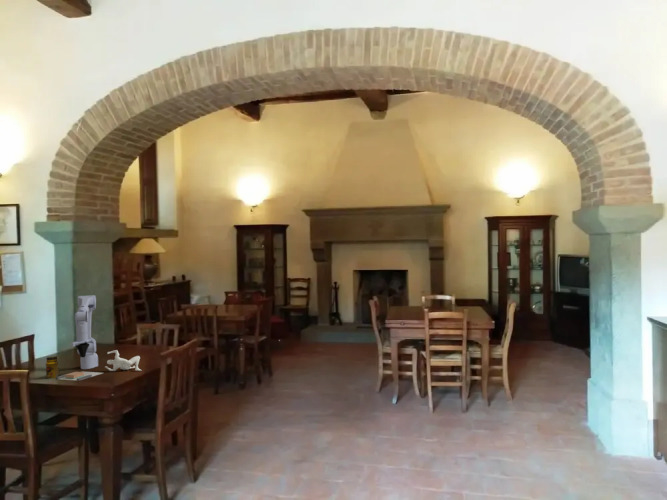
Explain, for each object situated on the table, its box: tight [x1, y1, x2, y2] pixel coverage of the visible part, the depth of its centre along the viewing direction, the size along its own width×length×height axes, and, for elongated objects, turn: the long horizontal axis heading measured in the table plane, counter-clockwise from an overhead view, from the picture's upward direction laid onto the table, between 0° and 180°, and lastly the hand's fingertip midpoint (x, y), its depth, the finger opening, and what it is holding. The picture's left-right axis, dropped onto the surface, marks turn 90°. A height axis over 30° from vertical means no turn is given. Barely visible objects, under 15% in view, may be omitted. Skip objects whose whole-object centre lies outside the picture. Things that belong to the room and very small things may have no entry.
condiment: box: [45, 355, 60, 380], centre depth 291 cm, size 7×8×12 cm
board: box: [55, 371, 103, 382], centre depth 292 cm, size 18×16×2 cm
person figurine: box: [104, 349, 143, 372], centre depth 303 cm, size 13×13×18 cm
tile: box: [64, 371, 85, 379], centre depth 289 cm, size 2×6×7 cm
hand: (82, 357), depth 296 cm, fingers closed
